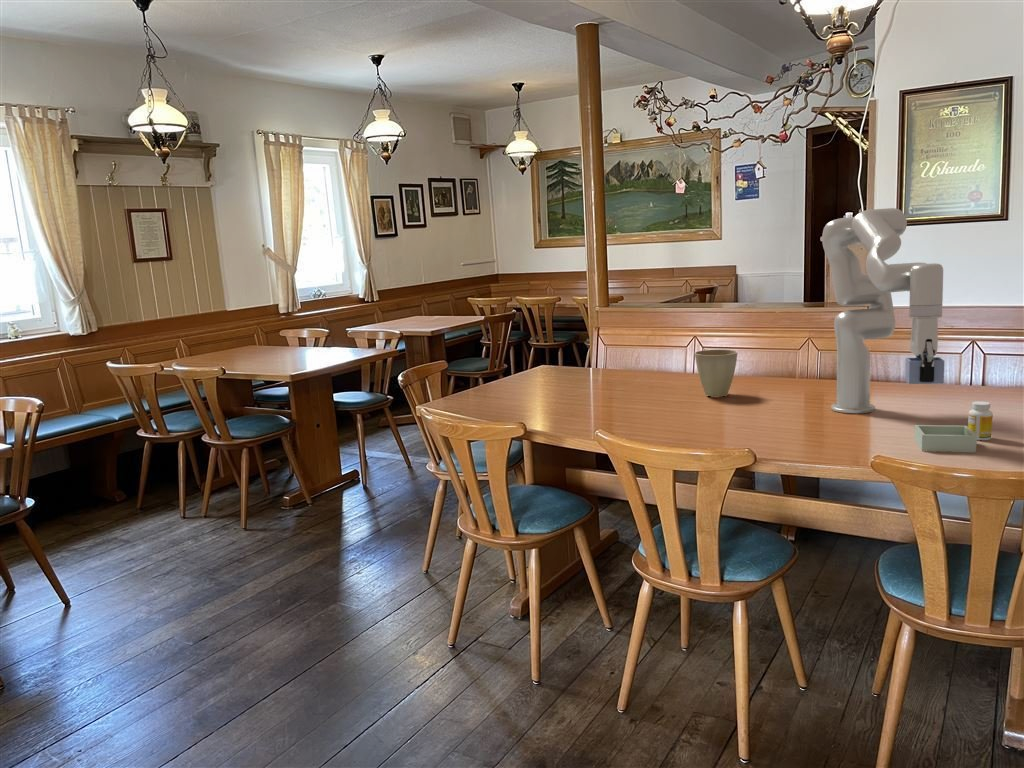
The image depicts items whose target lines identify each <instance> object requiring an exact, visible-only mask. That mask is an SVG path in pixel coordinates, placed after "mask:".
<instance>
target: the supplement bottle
mask: <svg viewBox="0 0 1024 768" xmlns="http://www.w3.org/2000/svg"><path fill="white" fill-rule="evenodd" d="M971 406H972V407H971V408H972V409H970V410H969V411H968V419H967V427H968V428H969V429H970V430H971V431H972V432H973V433H974V434H975V435H976V436H977V440H976V441H980V440H982V441H990V440H991V439H992V431H993V418H994V417H993V415H994V414H993V412H992V411H991V410H990V409H991V403H990V402H988V401H979V400H978V401H972V404H971Z"/></svg>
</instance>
